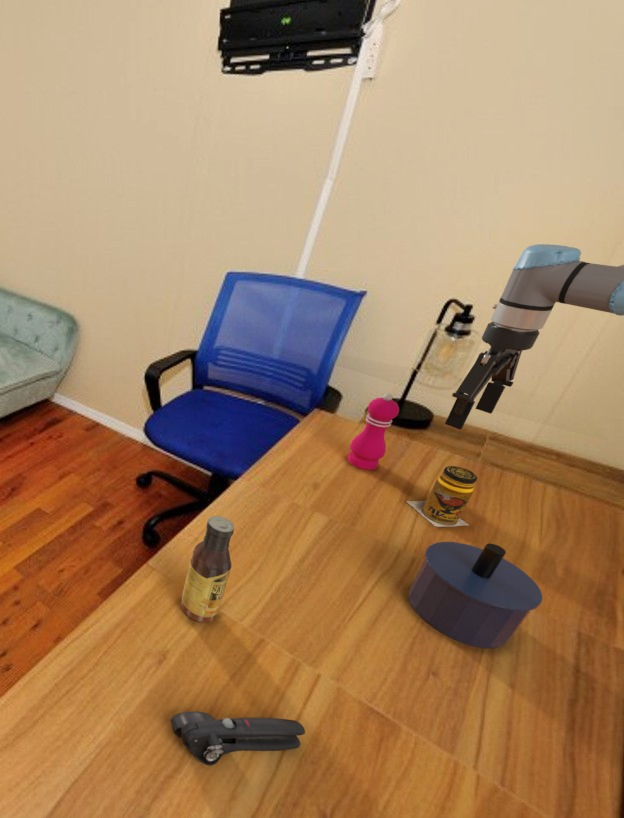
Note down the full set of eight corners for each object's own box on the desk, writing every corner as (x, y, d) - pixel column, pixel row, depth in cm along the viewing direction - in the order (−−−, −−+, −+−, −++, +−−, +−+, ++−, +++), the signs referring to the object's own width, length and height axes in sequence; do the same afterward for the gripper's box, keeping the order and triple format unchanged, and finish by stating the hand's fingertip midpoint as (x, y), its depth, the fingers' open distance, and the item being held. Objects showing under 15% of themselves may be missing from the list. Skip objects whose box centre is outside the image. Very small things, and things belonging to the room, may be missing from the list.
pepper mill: (374, 474, 125) (403, 404, 116) (341, 462, 130) (366, 393, 120) (382, 463, 129) (411, 394, 120) (350, 451, 134) (375, 384, 125)
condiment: (436, 527, 108) (459, 482, 103) (405, 502, 116) (425, 458, 110) (469, 526, 108) (494, 481, 103) (436, 500, 116) (457, 457, 110)
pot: (505, 608, 90) (531, 569, 85) (512, 664, 80) (542, 624, 76) (409, 572, 97) (429, 534, 93) (406, 619, 88) (427, 580, 84)
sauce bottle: (209, 631, 87) (233, 545, 78) (174, 611, 90) (193, 526, 81) (222, 607, 91) (247, 523, 82) (189, 589, 95) (208, 506, 86)
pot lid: (533, 571, 86) (552, 542, 83) (545, 631, 76) (567, 600, 73) (424, 534, 94) (438, 507, 91) (422, 583, 84) (438, 554, 81)
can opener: (182, 772, 68) (189, 749, 65) (165, 719, 74) (171, 695, 71) (314, 770, 68) (326, 747, 65) (286, 717, 74) (296, 693, 71)
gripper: (517, 310, 108) (475, 397, 118) (460, 331, 98) (418, 425, 107) (566, 320, 102) (516, 411, 112) (510, 343, 92) (461, 441, 101)
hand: (468, 418), depth 110 cm, fingers open, 13 cm apart
